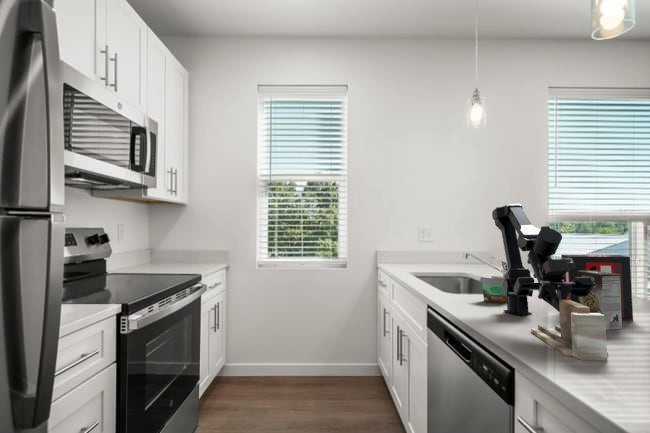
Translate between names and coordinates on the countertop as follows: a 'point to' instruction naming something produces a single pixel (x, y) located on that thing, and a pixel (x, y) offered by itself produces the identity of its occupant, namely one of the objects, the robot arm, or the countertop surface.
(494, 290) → the food container
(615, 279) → the coffee box
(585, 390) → the countertop surface
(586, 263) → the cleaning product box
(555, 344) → the track
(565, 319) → the door
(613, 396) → the countertop surface
